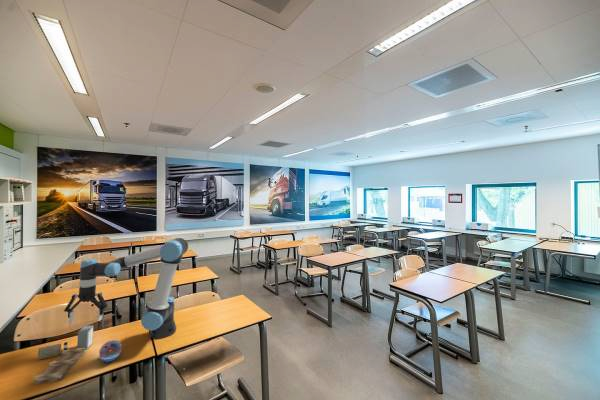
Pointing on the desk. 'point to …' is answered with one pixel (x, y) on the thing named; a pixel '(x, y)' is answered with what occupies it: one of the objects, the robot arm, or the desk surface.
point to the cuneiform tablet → (50, 351)
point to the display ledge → (60, 366)
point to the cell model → (110, 350)
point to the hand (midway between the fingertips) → (85, 321)
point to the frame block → (85, 337)
